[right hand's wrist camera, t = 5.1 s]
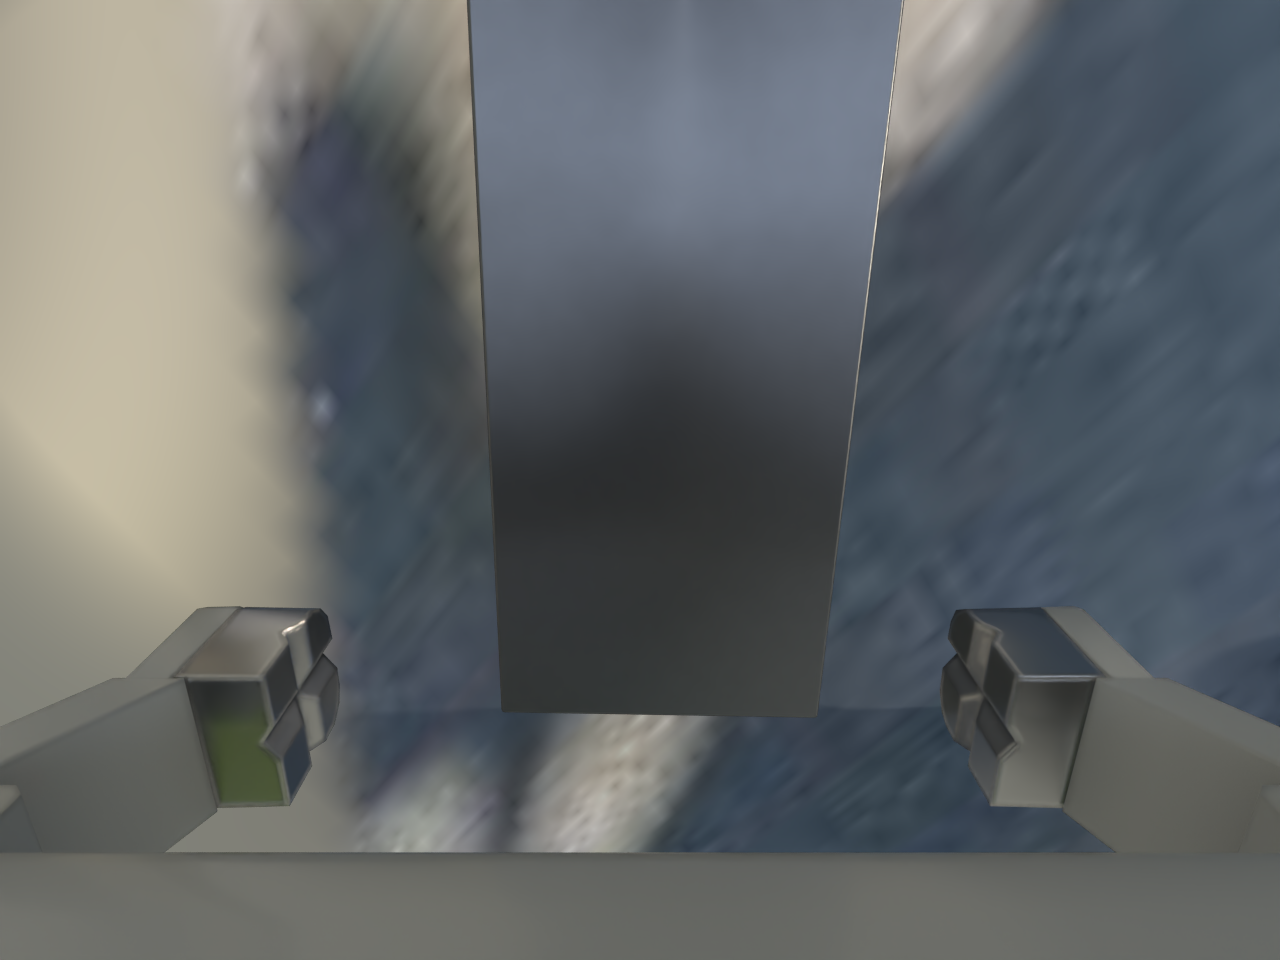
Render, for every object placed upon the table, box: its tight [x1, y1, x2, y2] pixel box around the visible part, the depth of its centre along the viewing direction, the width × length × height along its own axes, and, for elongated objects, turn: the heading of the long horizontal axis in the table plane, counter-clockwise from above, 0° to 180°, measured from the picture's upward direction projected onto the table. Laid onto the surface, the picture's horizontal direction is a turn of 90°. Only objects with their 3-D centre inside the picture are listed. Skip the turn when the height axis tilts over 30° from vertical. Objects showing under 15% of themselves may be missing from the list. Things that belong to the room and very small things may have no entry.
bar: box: [467, 0, 904, 718], centre depth 14 cm, size 23×6×8 cm, turn 179°
